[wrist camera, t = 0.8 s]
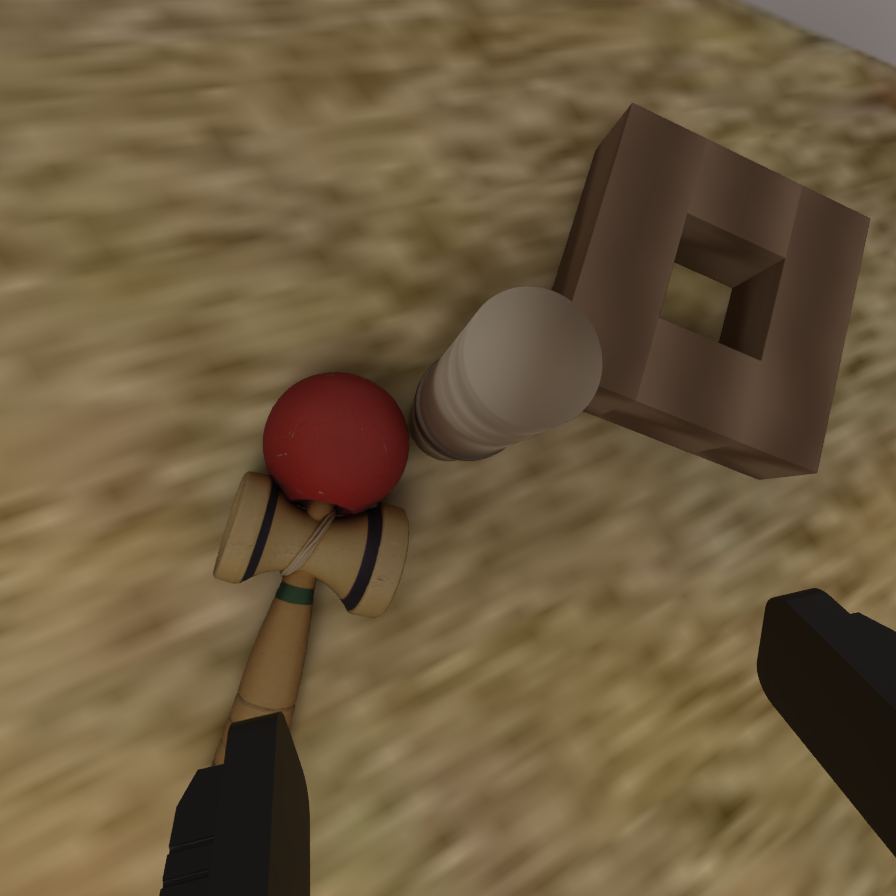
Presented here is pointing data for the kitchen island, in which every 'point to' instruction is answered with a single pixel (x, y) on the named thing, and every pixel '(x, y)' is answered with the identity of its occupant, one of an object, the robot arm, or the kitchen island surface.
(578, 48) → the kitchen island surface
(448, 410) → the peg
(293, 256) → the kitchen island surface
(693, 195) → the block
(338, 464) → the kendama
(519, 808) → the kitchen island surface
